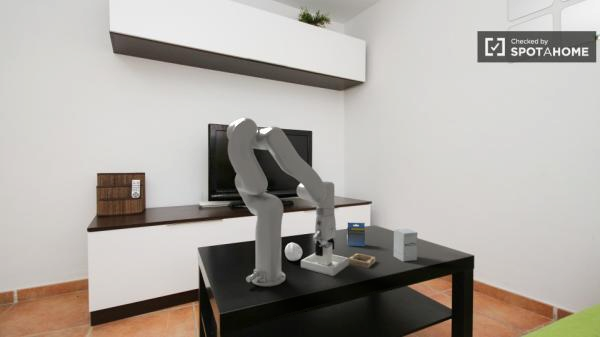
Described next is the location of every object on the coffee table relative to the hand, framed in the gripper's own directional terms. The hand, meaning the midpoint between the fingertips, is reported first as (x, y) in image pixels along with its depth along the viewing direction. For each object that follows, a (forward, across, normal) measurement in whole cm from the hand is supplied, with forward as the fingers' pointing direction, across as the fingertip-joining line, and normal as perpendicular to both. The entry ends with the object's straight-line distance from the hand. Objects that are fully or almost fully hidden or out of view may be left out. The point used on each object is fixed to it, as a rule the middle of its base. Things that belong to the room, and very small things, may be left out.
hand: (325, 252), depth 114 cm
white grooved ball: (+6, -2, +15) cm, 16 cm away
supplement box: (+6, +29, -25) cm, 39 cm away
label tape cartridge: (+6, +34, +1) cm, 35 cm away
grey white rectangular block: (+5, 0, 0) cm, 5 cm away
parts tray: (+6, 0, 0) cm, 6 cm away
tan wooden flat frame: (+6, +13, -11) cm, 18 cm away
